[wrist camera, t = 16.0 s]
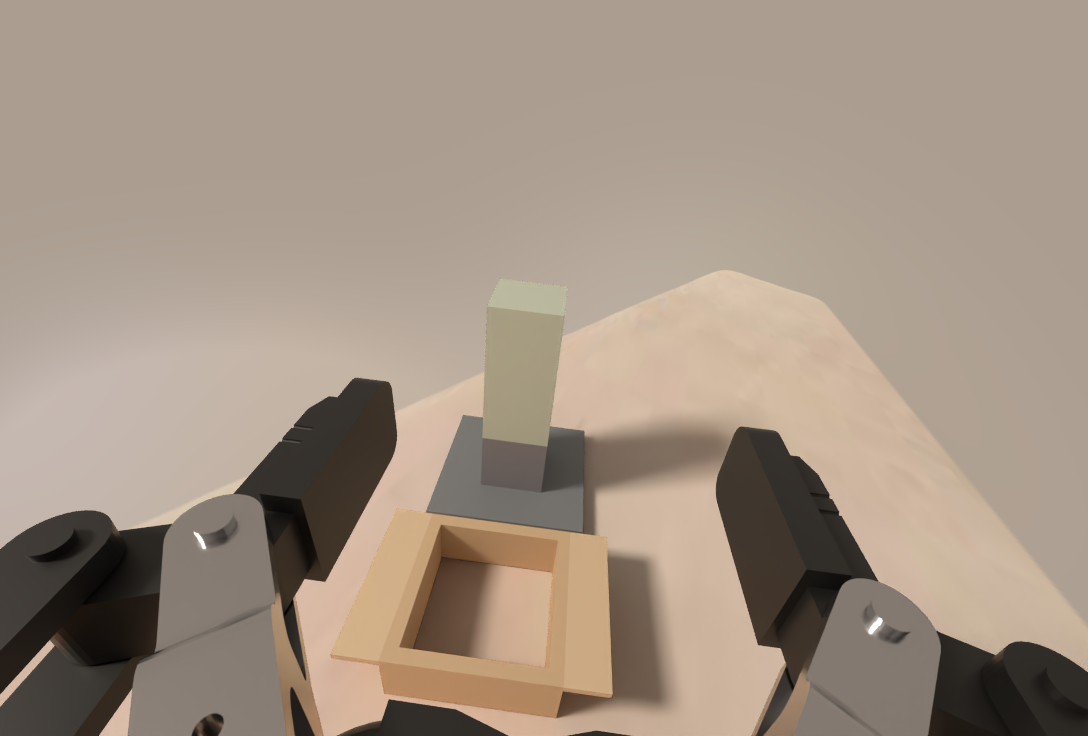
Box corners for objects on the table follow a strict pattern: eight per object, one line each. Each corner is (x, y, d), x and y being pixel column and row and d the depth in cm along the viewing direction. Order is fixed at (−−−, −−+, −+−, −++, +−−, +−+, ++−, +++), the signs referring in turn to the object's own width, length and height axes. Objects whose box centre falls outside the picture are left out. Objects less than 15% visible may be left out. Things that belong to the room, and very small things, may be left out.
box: (546, 451, 42) (568, 287, 33) (541, 492, 38) (564, 316, 29) (491, 444, 42) (500, 278, 34) (480, 484, 38) (487, 306, 29)
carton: (598, 568, 33) (606, 537, 31) (601, 724, 25) (612, 694, 23) (400, 541, 34) (396, 508, 32) (339, 686, 25) (330, 654, 24)
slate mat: (582, 438, 45) (584, 430, 45) (581, 540, 35) (583, 531, 35) (463, 423, 46) (463, 415, 45) (426, 519, 35) (426, 510, 35)
